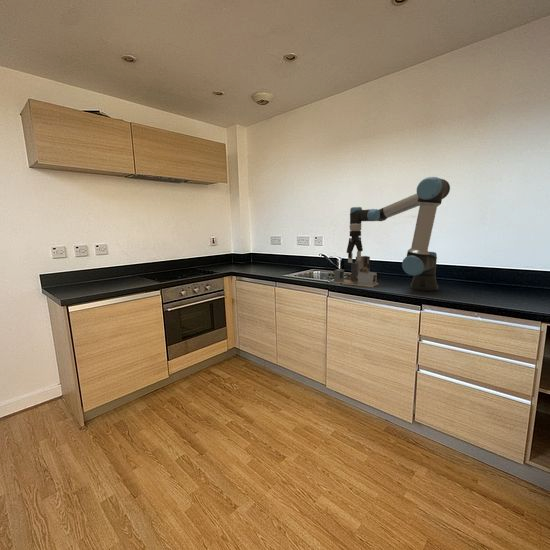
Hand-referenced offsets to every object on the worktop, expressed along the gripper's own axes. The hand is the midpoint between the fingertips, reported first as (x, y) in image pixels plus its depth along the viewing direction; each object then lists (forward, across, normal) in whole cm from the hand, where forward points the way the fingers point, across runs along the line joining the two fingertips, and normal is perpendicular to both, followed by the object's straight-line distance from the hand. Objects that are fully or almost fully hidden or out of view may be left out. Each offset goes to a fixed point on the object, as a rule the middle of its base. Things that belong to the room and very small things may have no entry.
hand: (354, 261), depth 197 cm
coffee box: (+16, -27, -6) cm, 32 cm away
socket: (+16, 0, -12) cm, 19 cm away
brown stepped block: (+14, 0, +4) cm, 14 cm away
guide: (+15, 0, 0) cm, 15 cm away
